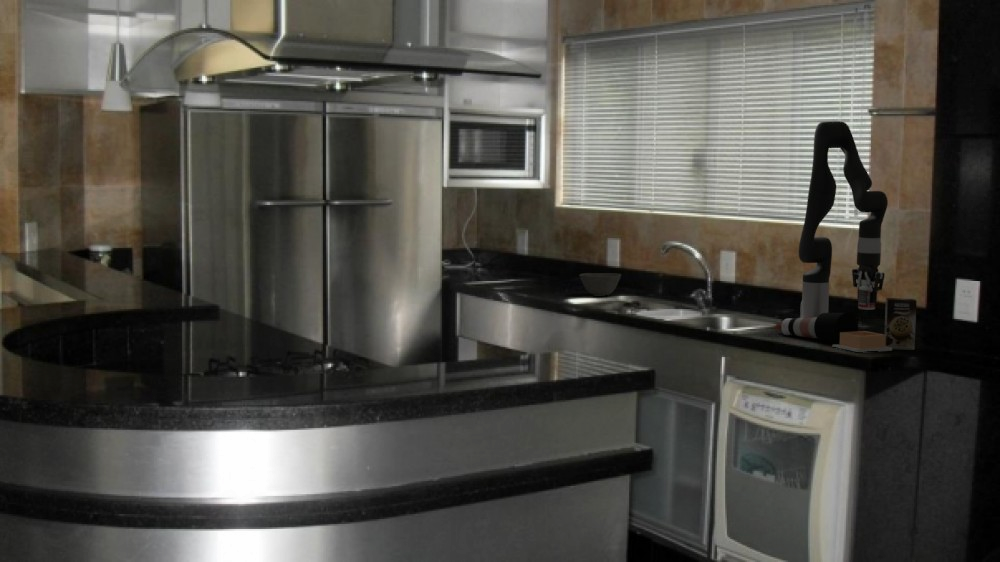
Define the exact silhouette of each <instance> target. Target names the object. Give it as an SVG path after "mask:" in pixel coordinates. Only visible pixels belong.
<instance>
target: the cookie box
mask: <svg viewBox="0 0 1000 562" xmlns="http://www.w3.org/2000/svg"><path fill="white" fill-rule="evenodd" d="M917 302H918V301H917V299H914V298H901V297H899V298H896V297H886V298H885V312H884V333H883V335H886V337H885V346H888V347H892V350H905V351H907V350H908V351H910V350H911V351H914V350H915V346H916V345H915V344H916V343H915V342H916V323H917Z"/></svg>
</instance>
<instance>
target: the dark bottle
mask: <svg viewBox="0 0 1000 562" xmlns="http://www.w3.org/2000/svg"><path fill="white" fill-rule="evenodd" d="M774 327H775V330H777V331H781V332H782V335H784V336H789V335H791V336H790V337H802V338H811V339H817V340H818V341H820V342H822V341H823V342H822V343H826V342H832V343H831V344H840V332H855V331H859V324H858V320H857V318H856V317H855V315H854V314H852V313H850V312H828V313H822V314H820V315H819V316H818V317H813V318H812V317H811V318H810V317H805V318H800V317H793V318H785V319H783V320H782V322H781V323H776V325H774Z"/></svg>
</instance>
